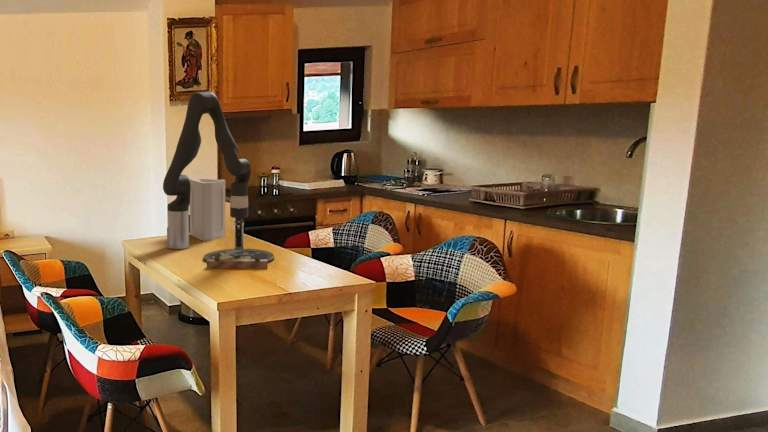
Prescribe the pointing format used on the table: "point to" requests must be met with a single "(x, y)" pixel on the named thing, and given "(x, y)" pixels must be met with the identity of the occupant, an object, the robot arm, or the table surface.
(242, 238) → the dowel
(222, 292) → the table surface
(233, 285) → the table surface
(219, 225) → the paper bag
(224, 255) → the decorative plate
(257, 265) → the bench stop
